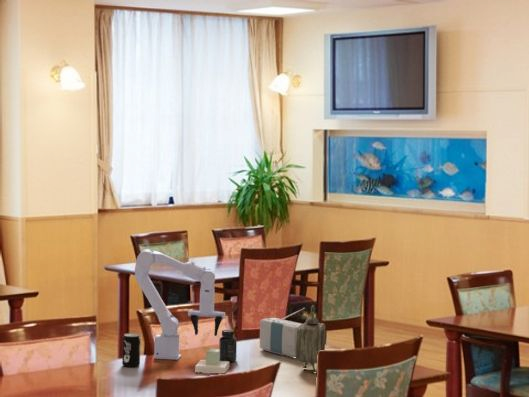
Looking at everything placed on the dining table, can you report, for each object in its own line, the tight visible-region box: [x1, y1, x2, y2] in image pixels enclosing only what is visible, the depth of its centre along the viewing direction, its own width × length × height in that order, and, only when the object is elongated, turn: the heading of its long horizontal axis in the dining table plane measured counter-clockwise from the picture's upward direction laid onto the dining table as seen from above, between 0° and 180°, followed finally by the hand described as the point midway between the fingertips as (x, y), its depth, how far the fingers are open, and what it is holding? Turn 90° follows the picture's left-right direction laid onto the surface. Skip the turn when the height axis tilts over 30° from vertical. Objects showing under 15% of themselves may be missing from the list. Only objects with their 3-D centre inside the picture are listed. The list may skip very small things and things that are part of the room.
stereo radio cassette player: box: [259, 307, 306, 358], centre depth 433 cm, size 21×8×20 cm, turn 42°
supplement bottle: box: [218, 329, 238, 363], centre depth 417 cm, size 7×7×12 cm
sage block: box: [205, 348, 220, 365], centre depth 401 cm, size 4×4×5 cm
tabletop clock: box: [295, 304, 326, 373], centre depth 405 cm, size 14×9×25 cm, turn 168°
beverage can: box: [121, 332, 141, 368], centre depth 403 cm, size 7×7×12 cm
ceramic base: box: [194, 359, 230, 374], centre depth 401 cm, size 11×11×3 cm
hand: (206, 334), depth 420 cm, fingers open, 7 cm apart
